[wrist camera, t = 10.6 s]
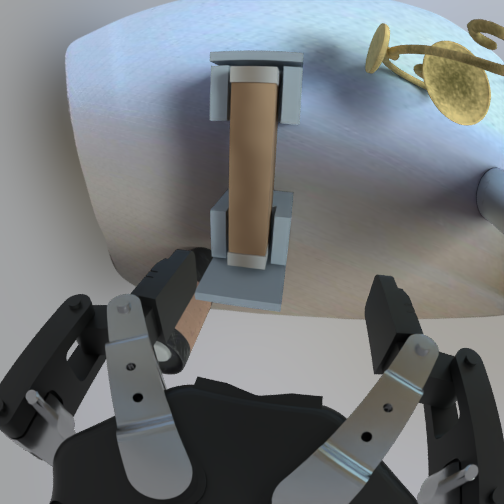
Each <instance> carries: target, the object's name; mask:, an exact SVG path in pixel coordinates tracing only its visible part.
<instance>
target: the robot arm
mask: <svg viewBox="0 0 504 504" xmlns="http://www.w3.org/2000/svg"><path fill="white" fill-rule="evenodd" d="M477 206H478V209H479V211H480V213H481V215H482V216H483V217H484V218H485V219H487V220H488V221H489V222H490V223H491V224H493V225H494V226H495V227H496V228H497V229H498V230H499V231H501V232H502V233H503V234H504V170H502V169H500V168H492V169H490V170H489V171H487V172H486V173H485V174H484V176H483V177H482V179H481V181H480V183H479V186H478V190H477ZM196 288H197V273H196V262H195V254H194V252H193V251H187V250H180V249H177V250H176V251H175V252H174V253H173V254H172V255H171V257H170V258H169V259H166V258H165V259H164V260H162V261H160V262H158V263H157V264H156V265H155V266H154V267H153V268H152V269H151V272H149V273H148V274H147V275H146V277H144V278H143V280H142V281H141V282H140V283H139V284H138V285H137V287H136V288H135V289H134V290H133V291H132V293H131V294H123V295H119V296H117V297H115V298H113V299H112V300H111V301H110V302H109V303H108V305H92V302H91V300H90V298H89V297H88V296H87V295H84V294H78V295H74V296H72V297H70V298H68V299H67V300H66V301H65V302H64V303H63V304H62V305H61V306H60V307H59V308H58V309H57V311H56V312H55V313H54V314H53V315H52V316H51V318H50V319H49V320H48V321H47V322H46V323H45V325H44V326H43V327H42V328H41V329H40V331H39V332H38V333H37V334H36V336H35V337H34V338H33V339H32V341H31V342H30V343H29V345H28V346H27V347H26V348H25V350H24V351H23V352H22V354H21V355H20V356H19V358H18V359H17V360H16V362H15V363H14V365H13V366H12V367H11V369H10V370H9V372H8V373H7V374H6V376H5V377H4V379H3V380H2V382H1V383H0V430H1V431H2V432H3V433H4V434H5V435H6V436H7V437H8V438H9V439H11V440H12V441H13V442H15V443H16V444H17V445H19V446H20V447H21V448H23V449H24V450H25V451H28V452H30V453H31V454H33V455H34V456H36V457H37V458H38V459H41V460H44V461H45V462H47V463H48V464H50V465H51V466H52V467H53V492H52V498H51V501H50V504H504V439H503V433H502V428H501V423H500V419H499V414H498V411H497V407H496V402H495V399H494V395H493V392H492V388H491V385H490V382H489V379H488V376H487V373H486V370H485V367H484V364H483V361H482V359H481V357H480V356H479V355H478V354H477V353H476V352H475V351H474V350H472V349H469V348H462V349H460V350H459V351H458V352H457V354H456V355H455V356H452V355H448V354H445V353H442V352H439V349H438V346H437V344H436V343H435V342H434V341H433V340H432V339H431V338H430V337H428V336H426V335H424V334H423V332H422V329H421V326H420V324H419V321H418V318H417V315H416V313H415V310H414V308H413V306H412V303H411V300H410V298H409V296H408V295H407V294H406V293H405V292H404V291H403V289H399V288H398V287H397V285H396V282H395V280H394V278H393V277H392V276H385V275H376V276H375V278H374V281H373V284H372V287H371V290H370V293H369V296H368V299H367V302H366V306H365V320H366V325H367V331H368V337H369V343H370V349H371V356H372V362H373V370H374V374H383V375H382V376H381V378H380V379H379V380H378V382H377V383H376V384H375V386H374V387H373V388H372V389H371V391H370V392H369V393H368V395H367V396H366V397H365V399H364V400H363V401H362V402H361V403H360V404H359V406H358V407H357V408H356V409H355V411H354V412H353V413H352V414H351V415H350V416H349V417H348V418H347V419H346V418H345V417H344V416H343V415H341V414H340V413H339V412H337V411H335V410H333V409H331V408H329V407H326V406H323V405H322V398H323V397H322V396H311V395H301V394H280V395H266V396H258V395H254V394H252V393H249V392H247V391H244V390H242V389H239V388H237V387H235V386H232V385H230V384H228V383H224V382H219V381H214V380H210V379H206V378H201V377H197V379H196V382H195V384H194V385H182V386H176V387H173V388H169V389H167V387H166V385H165V382H164V378H163V376H162V372H161V369H160V366H159V362H158V359H157V356H156V352H155V349H154V344H155V343H156V341H160V342H164V343H167V341H168V339H169V337H170V335H171V334H172V332H173V330H174V328H175V327H176V325H177V323H178V321H179V320H180V318H181V316H182V314H183V313H184V311H185V309H186V307H187V306H188V304H189V302H190V300H191V299H192V297H193V295H194V294H195V291H196ZM75 340H77V342H78V344H79V345H78V346H77V348H76V349H75V351H74V352H73V353H72V355H71V357H70V358H69V359H68V361H67V360H66V356H67V352H68V350H69V349H70V347H71V346H72V344H73V343H74V342H75ZM105 360H107V368H108V376H109V383H110V389H111V396H112V402H113V407H114V412H115V416H113V417H111V418H109V419H107V420H105V421H103V422H101V423H99V424H96V425H95V426H92V427H90V428H88V429H85V430H83V431H81V432H79V433H76V434H75V430H74V427H75V423H74V418H73V417H74V415H75V413H76V411H77V409H78V407H79V405H80V403H81V402H82V400H83V398H84V396H85V395H86V393H87V391H88V389H89V387H90V386H91V384H92V382H93V380H94V379H95V377H96V375H97V373H98V371H99V370H100V368H101V367H102V365H103V363H104V362H105ZM456 401H458V405H459V410H460V417H459V419H458V414H457V408H456V403H455V402H456ZM418 403H422V404H424V412H425V420H426V431H427V444H428V462H429V463H428V465H429V477H428V478H427V479H426V480H425V481H424V483H423V484H422V486H421V489H420V492H419V494H418V496H417V499H418V500H416V499H415V497H414V496H413V495H412V494H411V493H410V492H409V491H408V489H407V488H406V487H405V486H404V485H403V484H402V483H401V482H400V480H399V479H398V478H397V477H396V476H395V475H394V473H393V472H392V471H391V470H390V469H389V468H388V466H387V465H386V464H385V463H384V462H383V461H382V459H383V458H384V456H385V455H386V454H387V452H388V451H389V449H390V448H391V446H392V445H393V444H394V442H395V441H396V439H397V438H398V436H399V434H400V433H401V431H402V430H403V428H404V427H405V425H406V423H407V422H408V420H409V418H410V417H411V415H412V413H413V411H414V410H415V408H416V406H417V404H418Z"/></svg>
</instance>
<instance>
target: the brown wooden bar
mask: <svg viewBox="0 0 504 504" xmlns="http://www.w3.org/2000/svg"><path fill="white" fill-rule="evenodd" d="M230 82H231V110H230V150H229V250H228V253H227V262H228V265H231V266H239V267H247V268H255V269H263V270H265V266H266V262H267V257H268V253H269V248H270V241H271V234H270V231H271V218H272V204H273V190H274V175H275V160H276V144H277V127H278V109H279V90H280V88H281V74H280V72H279V70H278V68H277V67H268V66H230Z"/></svg>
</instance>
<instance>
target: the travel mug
mask: <svg viewBox="0 0 504 504" xmlns="http://www.w3.org/2000/svg"><path fill="white" fill-rule="evenodd" d="M191 251H193V252H194V254H195V262H196V273H197V286H198V285H199V283H200V281H201V279H202V277H203V275H204V273H205V272H206V270H207V268H208V266H209V264H210V262H211V261H212V259H213V257H212V251H211V250H210V249H207V248H195V249H192V250H191ZM211 305H212V302H208V301H202V300H196V299H195V294H194V295H193V297H192V299H191V300H190V302H189V304H188V306H187V307H186V309H185V311H184V313H183V314H182V316H181V318H180V320H179V321H178V323H177V325H176V327H175V328H174V330H173V332H172V334H171V335H170V337H169V339H168V341H167V343H164V342H160V341H156V343H155V344H154V349H155V352H156V356H157V359H158V362H159V366H160V369H161V372H162V373H163V374H177V373H179V372H181V371H182V370H183V368H184V367H185V364H186V362H187V360H188V358H189V355H190V353H191V351H192V348H193V346H194V344H195V342H196V339H197V337H198V335H199V332H200V330H201V328H202V326H203V323H204V321H205V319H206V317H207V314H208V312H209V310H210V307H211Z"/></svg>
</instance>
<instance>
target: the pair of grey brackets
mask: <svg viewBox="0 0 504 504" xmlns="http://www.w3.org/2000/svg"><path fill="white" fill-rule="evenodd" d="M210 61H211V62H213V63H215V64H217V65H219V66H211V82H210V121H229V120H230V110H231V82H230V66H268V67H277V68H278V70H279V72H280V74H281V88H280V90H279V109H278V122H281V123H284V124H295V125H299V123H300V108H301V92H302V72H303V53H297V52H283V51H221V52H210ZM292 203H293V192H284V191H274V190H273V204H272V218H271V231H270V234H271V241H270V248H269V253H268V257H267V262H266V266H265V270H263V269H255V268H247V267H239V266H231V265H228V262H227V253H228V250H229V189H228V190H227V191H226V192H225V193H224V195H223V196H222V197H221V198H220V199H219V200H218V202H217V203H216V204H215V205H214V206H213V208H212V209H211V210H210V223H211V251H212V257H213V259H212V261H211V262H210V264H209V266H208V268H207V270H206V272H205V273H204V275H203V277H202V279H201V281H200V283H199V285H198V286H197V288H196V291H195V299H196V300H202V301H208V302H215V303H221V304H228V305H234V306H241V307H248V308H256V309H263V310H271V311H279V312H280V310H281V302H282V294H283V286H284V277H285V268H286V260H287V252H288V243H289V234H290V225H291V215H292Z"/></svg>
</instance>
